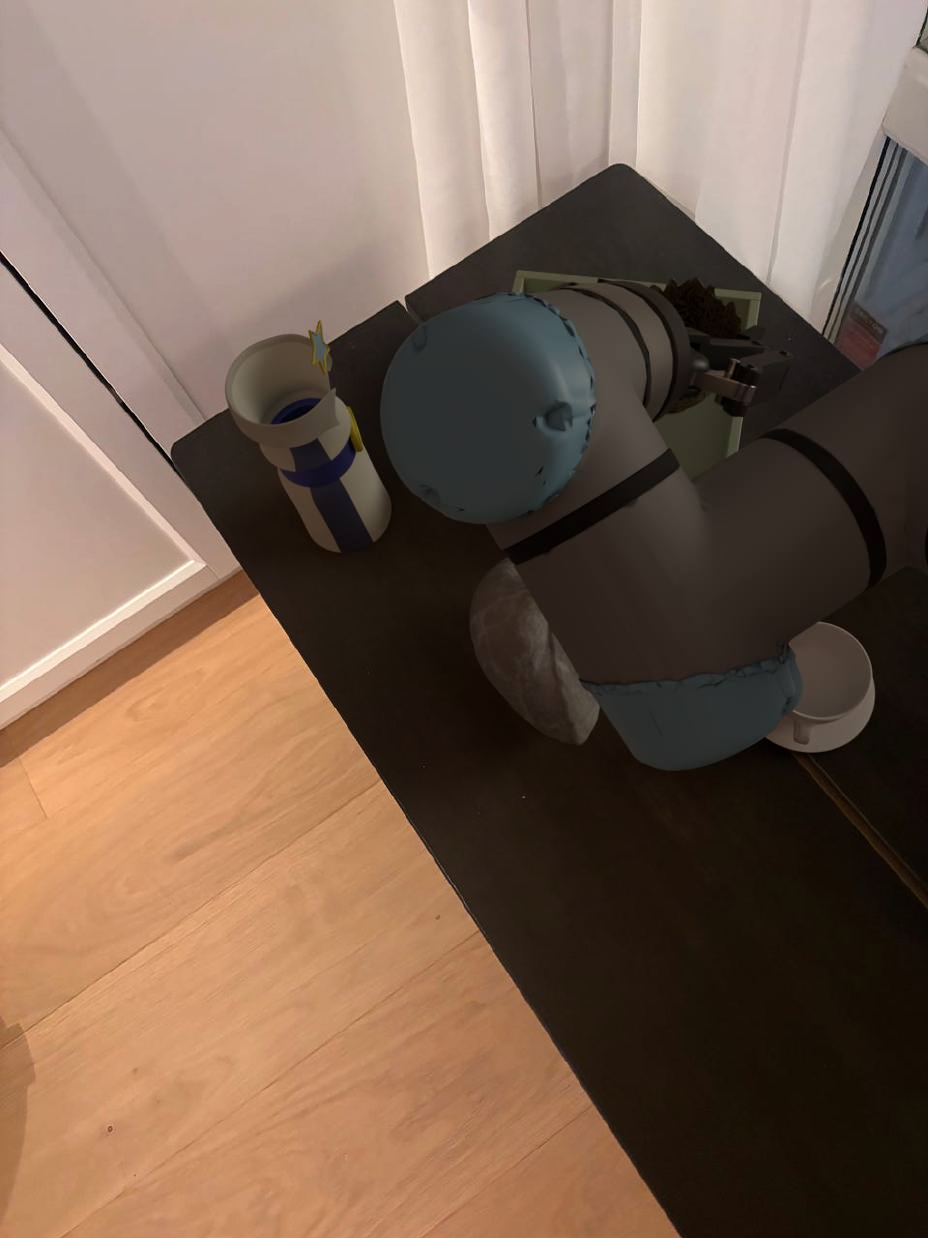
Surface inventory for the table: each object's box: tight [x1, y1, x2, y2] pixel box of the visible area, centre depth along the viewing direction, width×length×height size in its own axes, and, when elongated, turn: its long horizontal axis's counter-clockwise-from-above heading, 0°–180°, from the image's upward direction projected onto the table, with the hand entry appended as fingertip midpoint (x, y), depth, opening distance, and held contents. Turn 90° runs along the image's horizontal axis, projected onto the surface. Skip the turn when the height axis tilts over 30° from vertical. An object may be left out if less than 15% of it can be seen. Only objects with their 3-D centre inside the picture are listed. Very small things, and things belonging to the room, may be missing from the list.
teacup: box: [764, 621, 876, 753], centre depth 67 cm, size 10×10×5 cm
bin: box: [510, 269, 762, 480], centre depth 76 cm, size 21×21×6 cm
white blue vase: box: [224, 319, 393, 554], centre depth 68 cm, size 8×9×25 cm
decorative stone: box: [468, 556, 601, 747], centre depth 65 cm, size 15×10×15 cm
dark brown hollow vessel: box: [649, 277, 742, 415], centre depth 61 cm, size 8×7×8 cm
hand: (695, 327), depth 62 cm, fingers closed on dark brown hollow vessel, 7 cm apart
